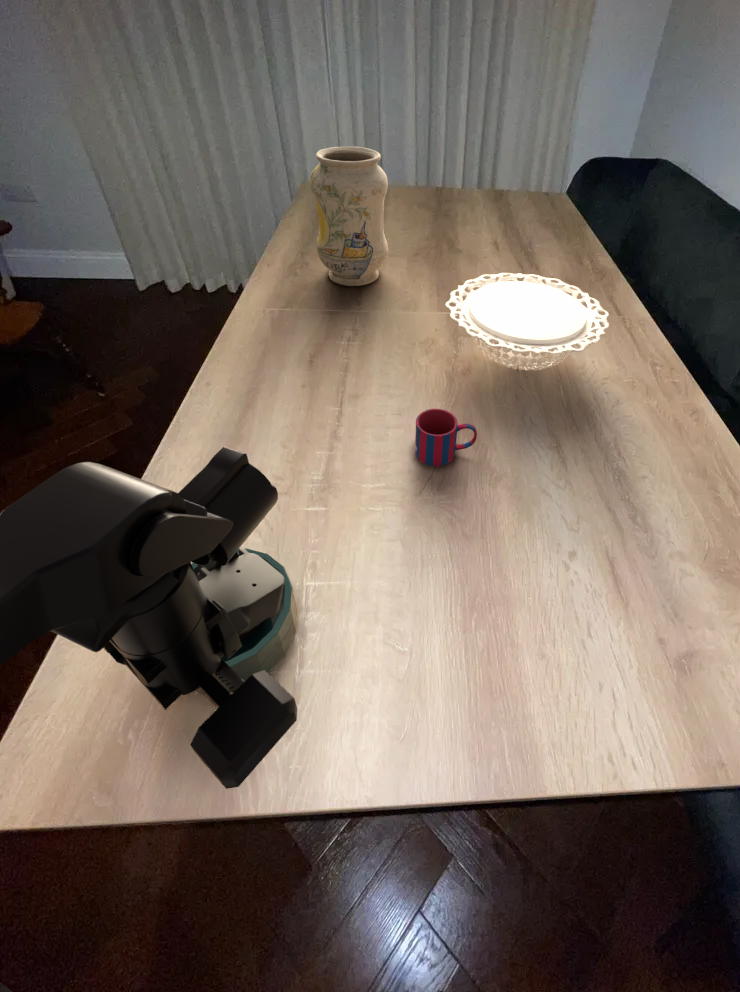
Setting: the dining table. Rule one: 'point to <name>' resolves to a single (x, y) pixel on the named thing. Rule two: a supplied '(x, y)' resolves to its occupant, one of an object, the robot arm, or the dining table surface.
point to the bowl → (265, 632)
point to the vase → (350, 213)
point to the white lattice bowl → (527, 319)
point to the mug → (439, 437)
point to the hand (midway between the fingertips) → (210, 707)
